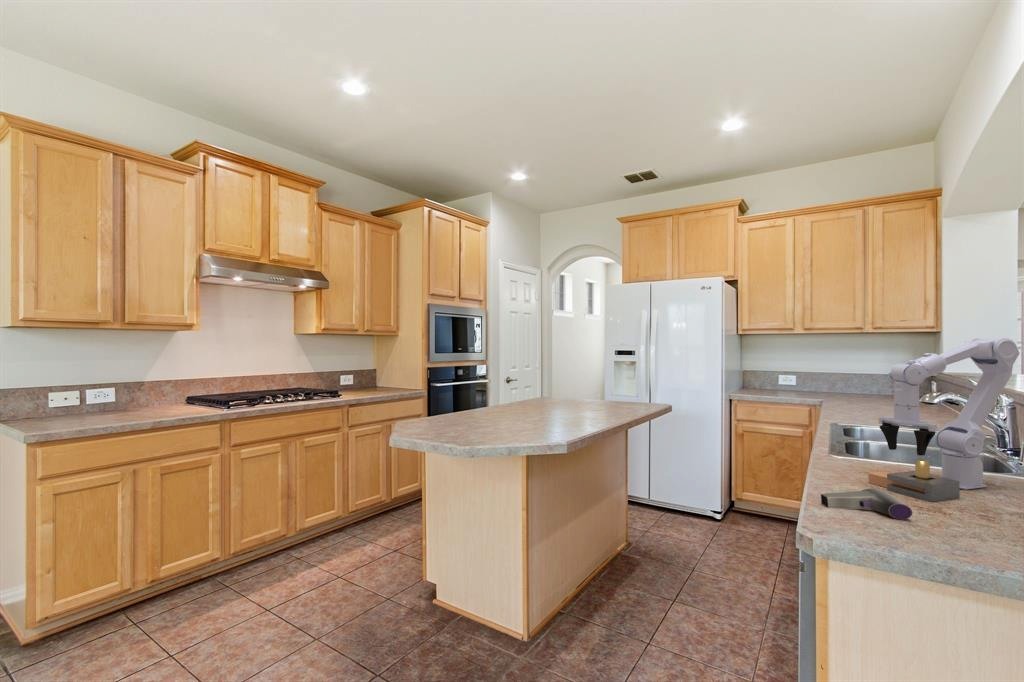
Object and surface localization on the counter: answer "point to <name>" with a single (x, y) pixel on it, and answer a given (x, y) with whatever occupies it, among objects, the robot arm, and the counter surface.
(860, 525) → the counter surface
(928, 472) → the brass pin
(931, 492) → the bracket
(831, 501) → the infrared thermometer
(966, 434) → the robot arm
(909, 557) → the counter surface
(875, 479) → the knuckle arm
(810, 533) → the counter surface
